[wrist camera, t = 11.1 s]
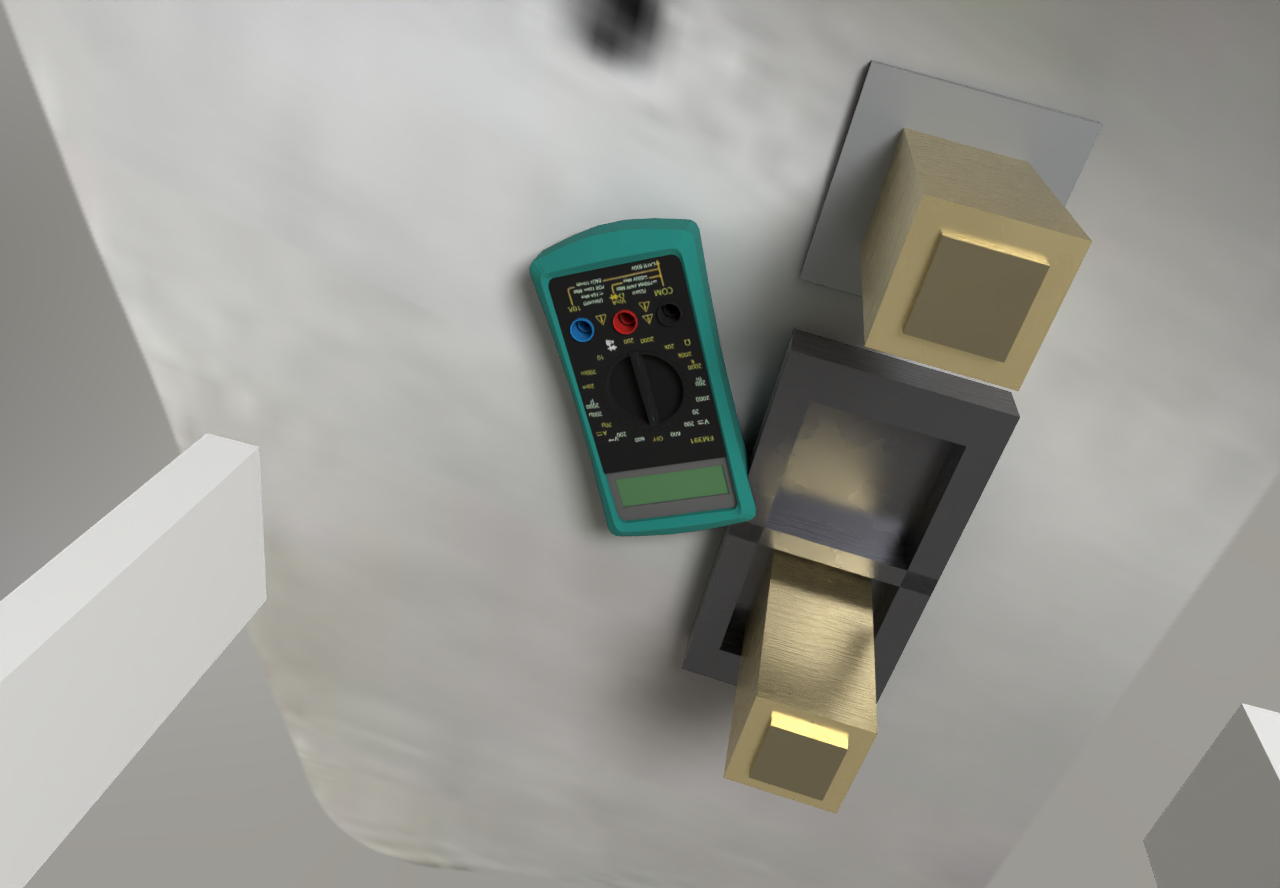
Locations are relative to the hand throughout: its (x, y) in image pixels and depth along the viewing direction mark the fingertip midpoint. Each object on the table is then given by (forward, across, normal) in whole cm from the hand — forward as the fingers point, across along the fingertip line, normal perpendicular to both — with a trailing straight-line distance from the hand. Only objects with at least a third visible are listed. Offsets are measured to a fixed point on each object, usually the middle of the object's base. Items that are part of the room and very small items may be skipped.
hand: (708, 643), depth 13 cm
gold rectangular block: (+29, +6, -21) cm, 37 cm away
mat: (+30, +6, -1) cm, 31 cm away
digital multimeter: (+30, -4, -11) cm, 32 cm away
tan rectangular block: (+30, +6, -1) cm, 30 cm away
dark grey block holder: (+30, +6, -17) cm, 35 cm away
